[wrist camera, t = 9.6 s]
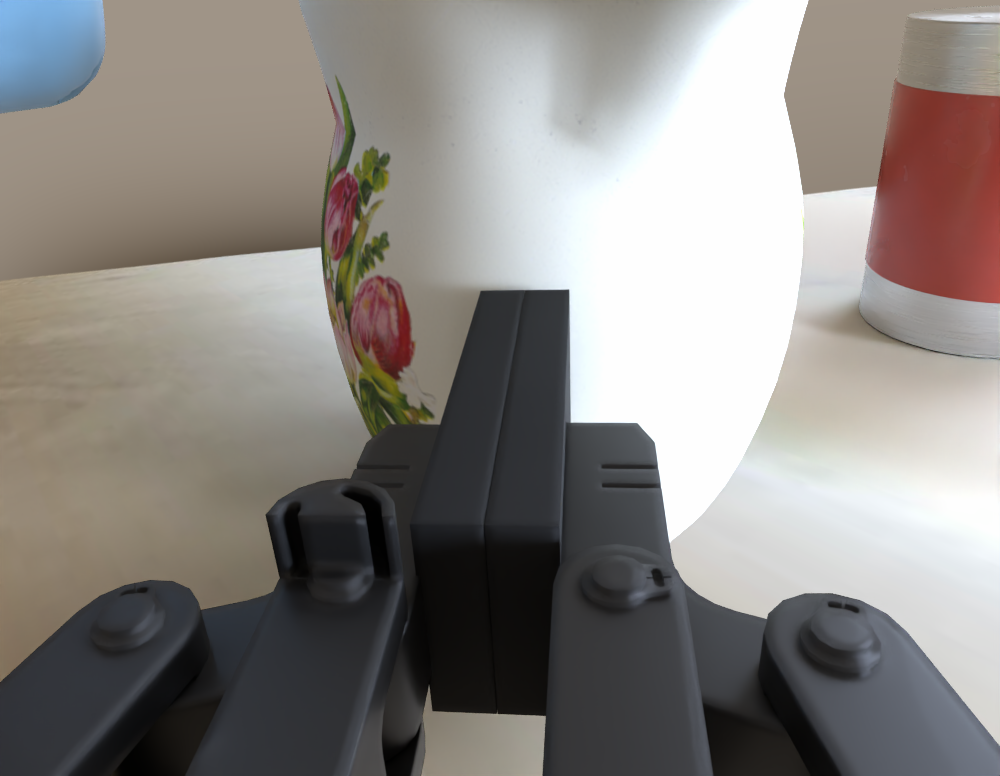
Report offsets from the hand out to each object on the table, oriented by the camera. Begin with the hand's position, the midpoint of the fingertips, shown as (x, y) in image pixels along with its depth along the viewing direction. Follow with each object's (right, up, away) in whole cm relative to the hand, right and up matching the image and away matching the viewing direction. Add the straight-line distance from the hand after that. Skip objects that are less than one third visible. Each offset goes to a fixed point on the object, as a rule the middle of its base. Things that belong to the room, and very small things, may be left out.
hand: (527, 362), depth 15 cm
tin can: (+18, +2, +18) cm, 25 cm away
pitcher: (+1, -3, +9) cm, 10 cm away
